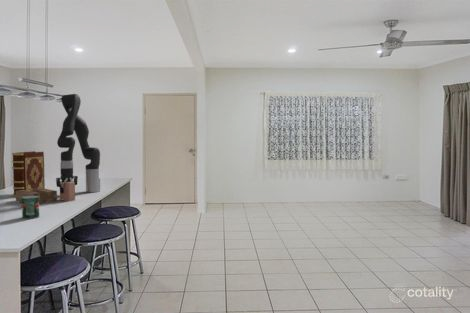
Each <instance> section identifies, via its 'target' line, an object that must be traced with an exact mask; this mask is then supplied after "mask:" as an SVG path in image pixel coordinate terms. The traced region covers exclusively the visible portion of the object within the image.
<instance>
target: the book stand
mask: <svg viewBox="0 0 470 313" xmlns="http://www.w3.org/2000/svg"><path fill="white" fill-rule="evenodd" d="M24 196H39V203H40V204H45V203H51V202H57V201H58V190H55V189H49V188H45V189H44V188H35V189H33V192H32V191H27V190H19V191H16V197H15V201H16V202H18V201H19V203H22V197H24Z"/></svg>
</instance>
